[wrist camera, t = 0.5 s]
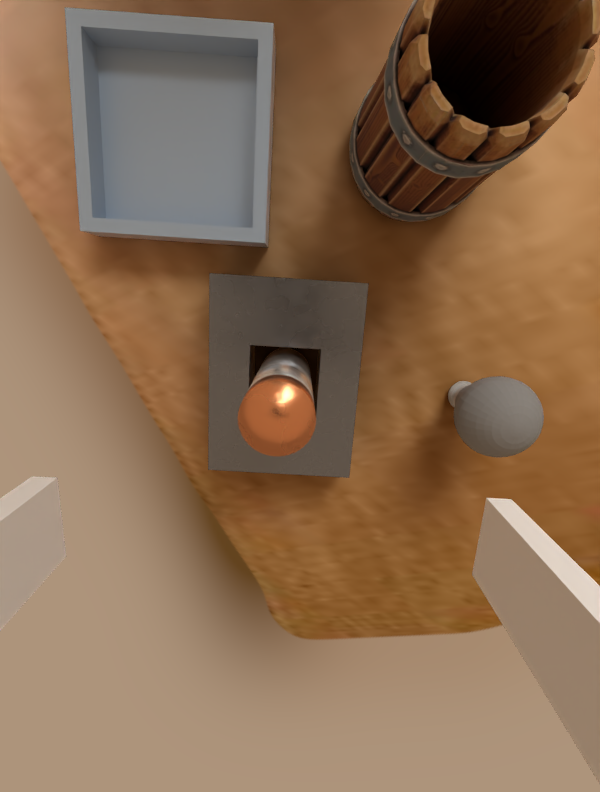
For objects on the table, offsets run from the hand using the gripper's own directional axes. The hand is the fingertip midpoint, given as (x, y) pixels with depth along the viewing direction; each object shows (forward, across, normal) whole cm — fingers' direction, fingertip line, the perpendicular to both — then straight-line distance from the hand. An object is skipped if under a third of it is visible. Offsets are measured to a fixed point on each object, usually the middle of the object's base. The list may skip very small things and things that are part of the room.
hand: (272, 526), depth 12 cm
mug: (+25, +11, +20) cm, 34 cm away
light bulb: (+25, +16, -1) cm, 29 cm away
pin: (+24, 0, 0) cm, 25 cm away
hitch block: (+24, 0, 0) cm, 24 cm away
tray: (+24, -9, +18) cm, 32 cm away
